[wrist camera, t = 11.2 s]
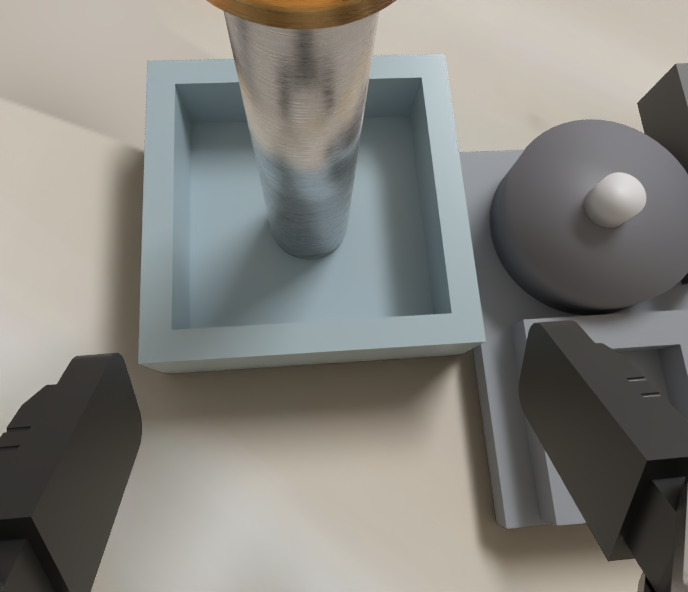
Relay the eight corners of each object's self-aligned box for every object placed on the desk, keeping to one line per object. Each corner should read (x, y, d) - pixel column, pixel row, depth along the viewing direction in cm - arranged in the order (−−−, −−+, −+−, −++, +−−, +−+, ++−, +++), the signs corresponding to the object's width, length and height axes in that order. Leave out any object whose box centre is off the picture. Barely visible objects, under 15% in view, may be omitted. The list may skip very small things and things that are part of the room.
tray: (165, 373, 19) (138, 363, 16) (170, 111, 21) (147, 60, 18) (460, 354, 19) (486, 341, 16) (427, 103, 22) (444, 54, 19)
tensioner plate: (496, 523, 18) (546, 548, 14) (442, 122, 22) (468, 57, 18) (737, 501, 19) (848, 520, 15) (641, 116, 23) (709, 51, 19)
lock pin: (252, 279, 19) (132, -28, 7) (250, 174, 20) (145, -258, 8) (370, 273, 19) (468, -32, 7) (360, 170, 21) (430, -251, 8)
